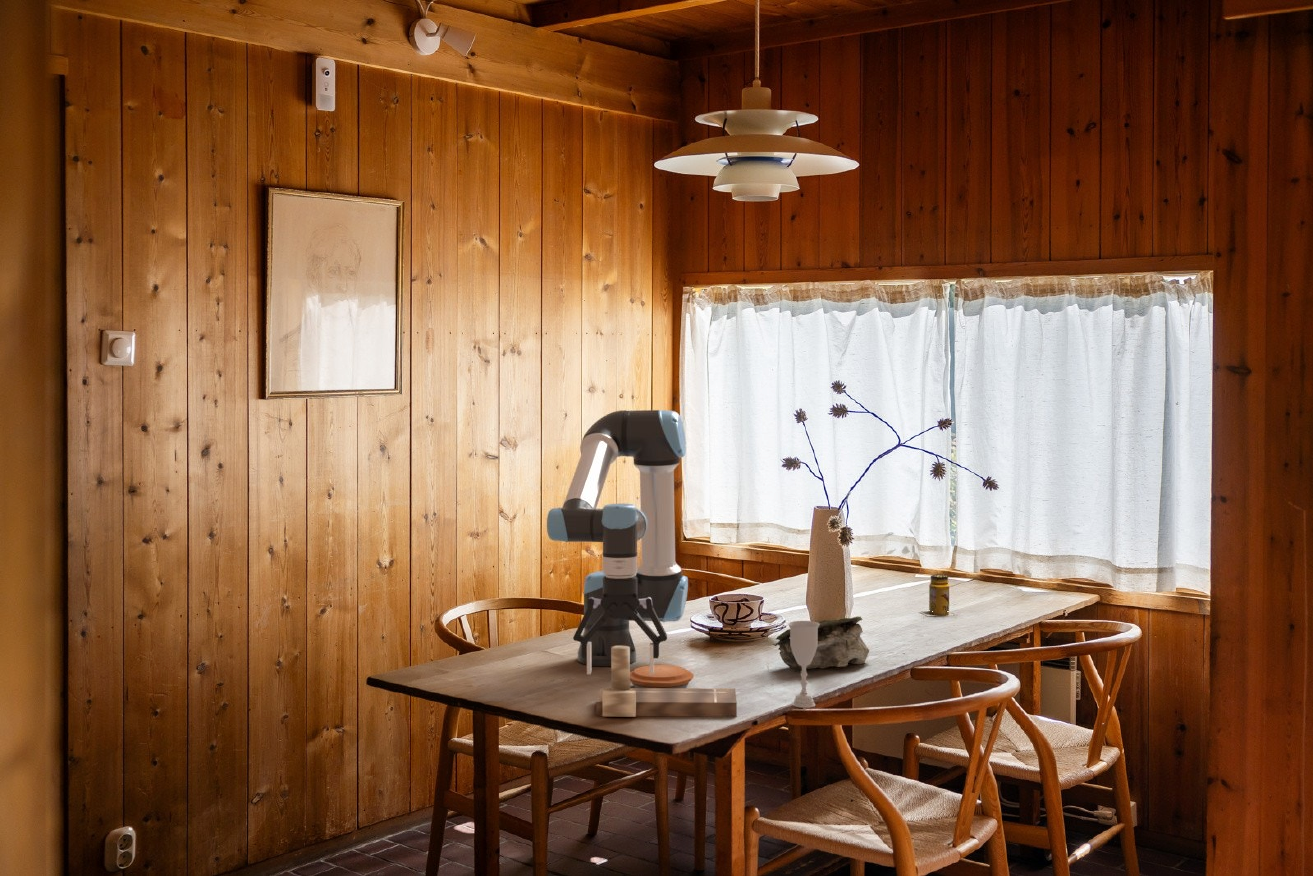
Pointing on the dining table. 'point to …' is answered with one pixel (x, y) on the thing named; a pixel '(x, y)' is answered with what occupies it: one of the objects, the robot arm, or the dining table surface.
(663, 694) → the board
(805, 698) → the chalice
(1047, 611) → the dining table surface
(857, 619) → the hollow geode rock
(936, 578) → the condiment
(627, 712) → the wooden handled tool
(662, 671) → the pie
